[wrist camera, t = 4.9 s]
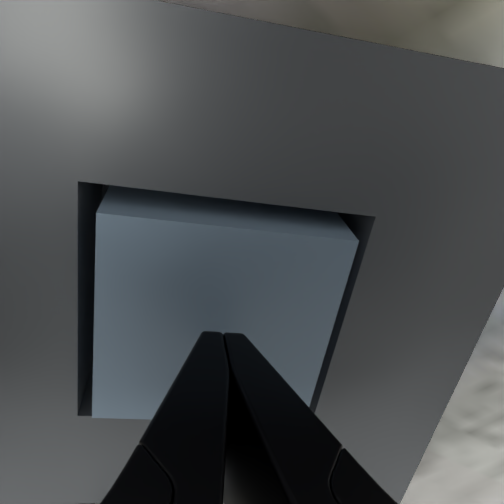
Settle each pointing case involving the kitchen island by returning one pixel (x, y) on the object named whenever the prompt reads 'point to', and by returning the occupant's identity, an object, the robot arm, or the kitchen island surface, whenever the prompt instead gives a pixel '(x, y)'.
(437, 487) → the kitchen island surface
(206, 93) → the key panel
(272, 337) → the slate blue key
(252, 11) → the kitchen island surface
